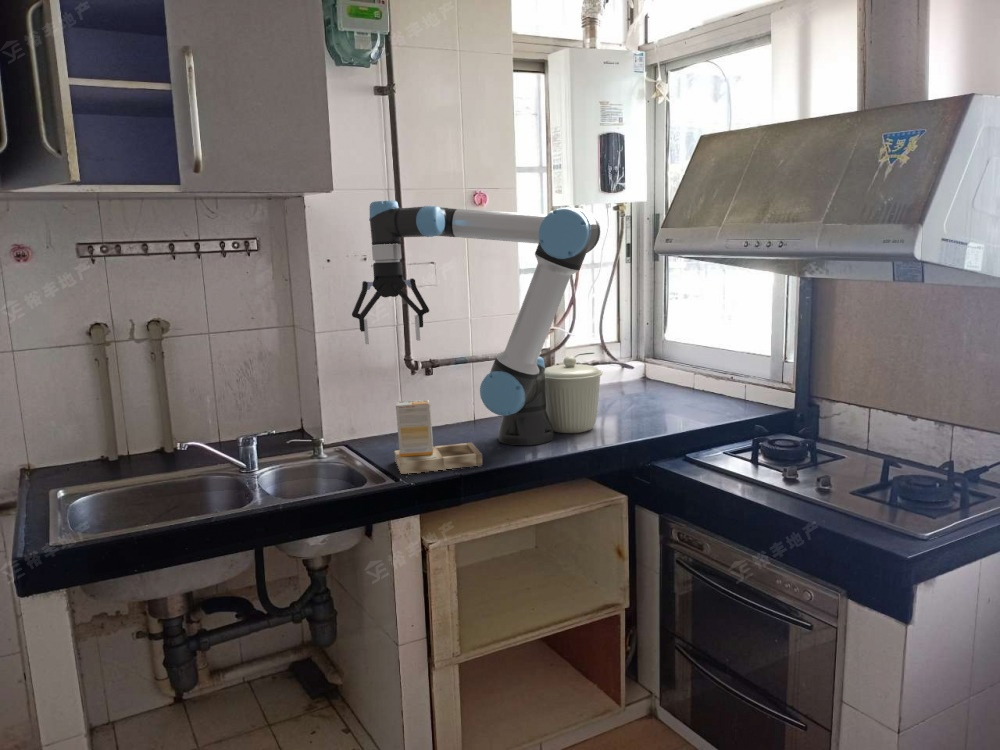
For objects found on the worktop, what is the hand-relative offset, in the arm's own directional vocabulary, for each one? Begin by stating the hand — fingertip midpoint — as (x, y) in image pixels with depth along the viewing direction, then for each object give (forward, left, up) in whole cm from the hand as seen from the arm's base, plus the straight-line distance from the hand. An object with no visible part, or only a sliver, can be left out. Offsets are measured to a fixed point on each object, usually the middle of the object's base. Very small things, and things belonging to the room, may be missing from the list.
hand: (392, 342), depth 212 cm
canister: (-49, +1, -29) cm, 57 cm away
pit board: (-7, +21, -29) cm, 36 cm away
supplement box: (-2, +21, -26) cm, 33 cm away
